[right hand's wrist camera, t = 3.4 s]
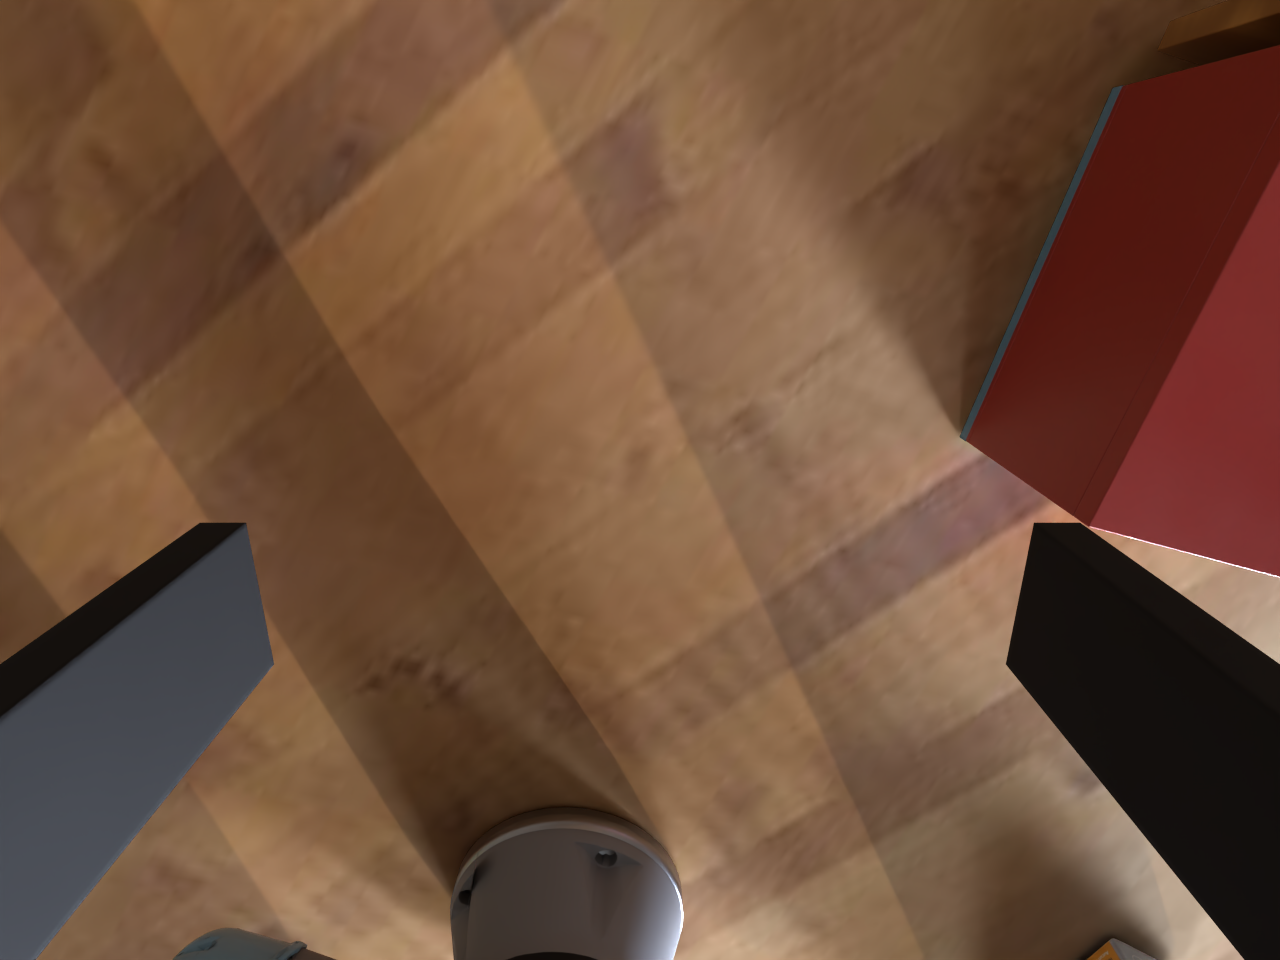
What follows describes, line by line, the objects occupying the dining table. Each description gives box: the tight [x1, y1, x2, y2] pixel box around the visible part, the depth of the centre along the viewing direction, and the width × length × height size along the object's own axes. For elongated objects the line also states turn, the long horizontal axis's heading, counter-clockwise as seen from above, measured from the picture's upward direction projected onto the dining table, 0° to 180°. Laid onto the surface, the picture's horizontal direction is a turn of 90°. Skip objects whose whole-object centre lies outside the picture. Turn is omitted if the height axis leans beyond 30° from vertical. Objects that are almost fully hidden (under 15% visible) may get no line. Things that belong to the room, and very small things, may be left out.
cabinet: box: [960, 45, 1280, 578], centre depth 31 cm, size 17×11×12 cm, turn 165°
